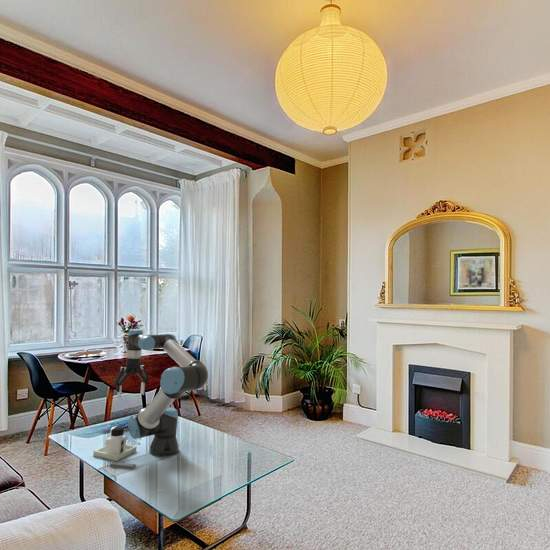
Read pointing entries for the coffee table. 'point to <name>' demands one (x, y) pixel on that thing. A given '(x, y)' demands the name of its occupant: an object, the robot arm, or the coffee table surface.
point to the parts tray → (102, 454)
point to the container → (116, 441)
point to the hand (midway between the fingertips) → (130, 396)
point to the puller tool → (123, 465)
